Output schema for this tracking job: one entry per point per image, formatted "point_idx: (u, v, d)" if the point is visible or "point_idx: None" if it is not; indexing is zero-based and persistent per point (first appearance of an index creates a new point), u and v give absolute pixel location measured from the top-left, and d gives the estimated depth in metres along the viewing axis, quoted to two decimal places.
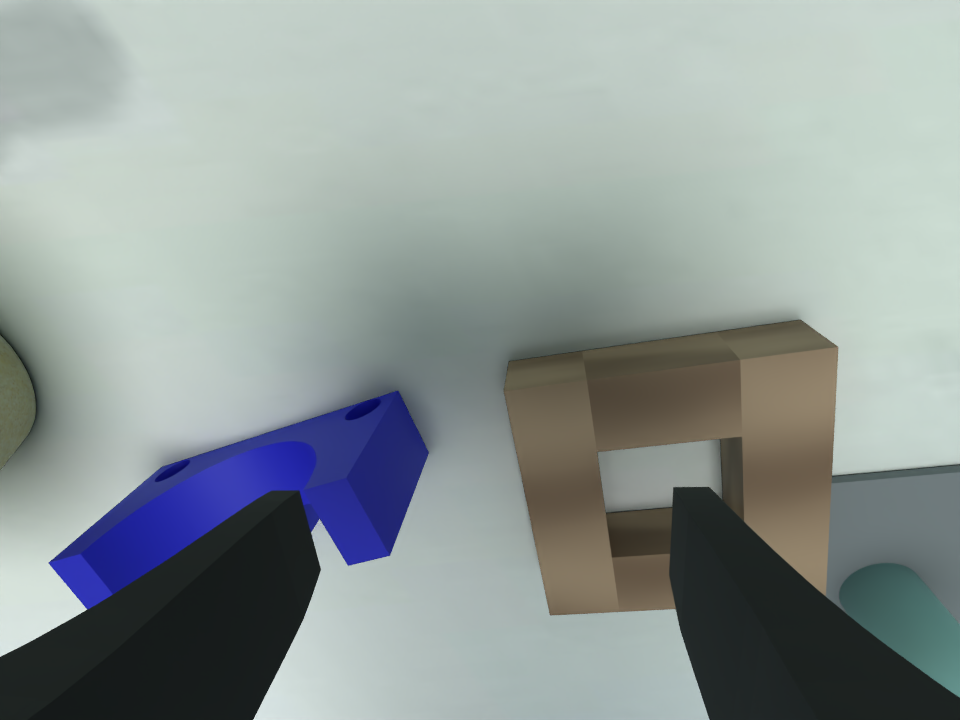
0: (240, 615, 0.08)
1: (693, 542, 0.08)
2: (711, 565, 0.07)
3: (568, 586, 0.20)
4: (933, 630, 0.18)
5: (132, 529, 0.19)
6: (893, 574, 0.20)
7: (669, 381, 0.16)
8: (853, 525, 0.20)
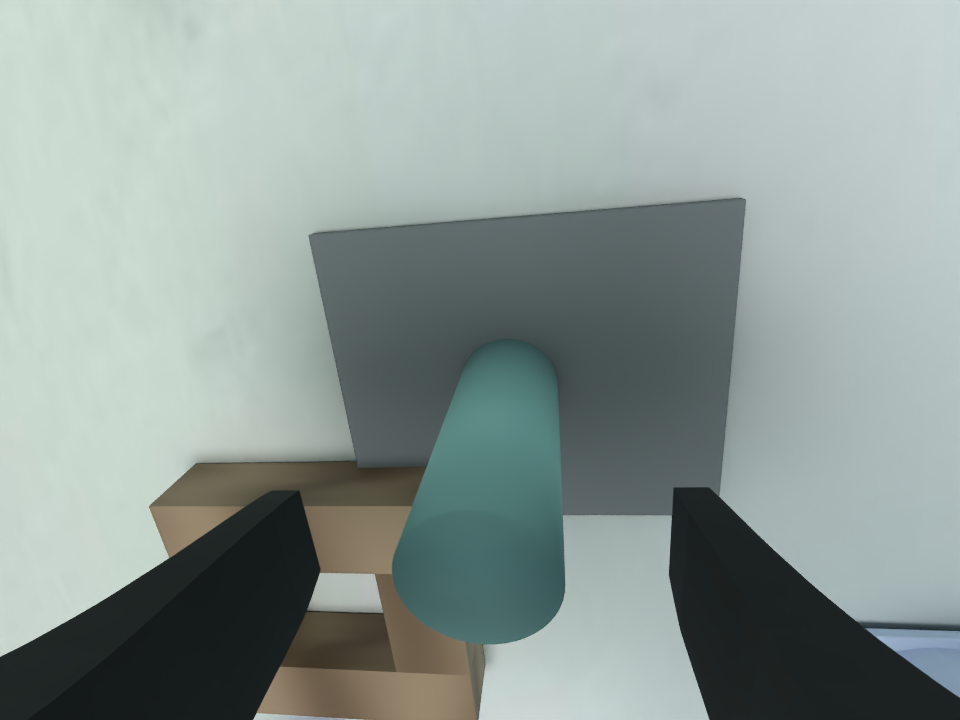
0: (240, 615, 0.08)
1: (693, 542, 0.08)
2: (711, 565, 0.07)
3: (437, 707, 0.19)
4: None
5: None
6: None
7: None
8: (406, 419, 0.17)
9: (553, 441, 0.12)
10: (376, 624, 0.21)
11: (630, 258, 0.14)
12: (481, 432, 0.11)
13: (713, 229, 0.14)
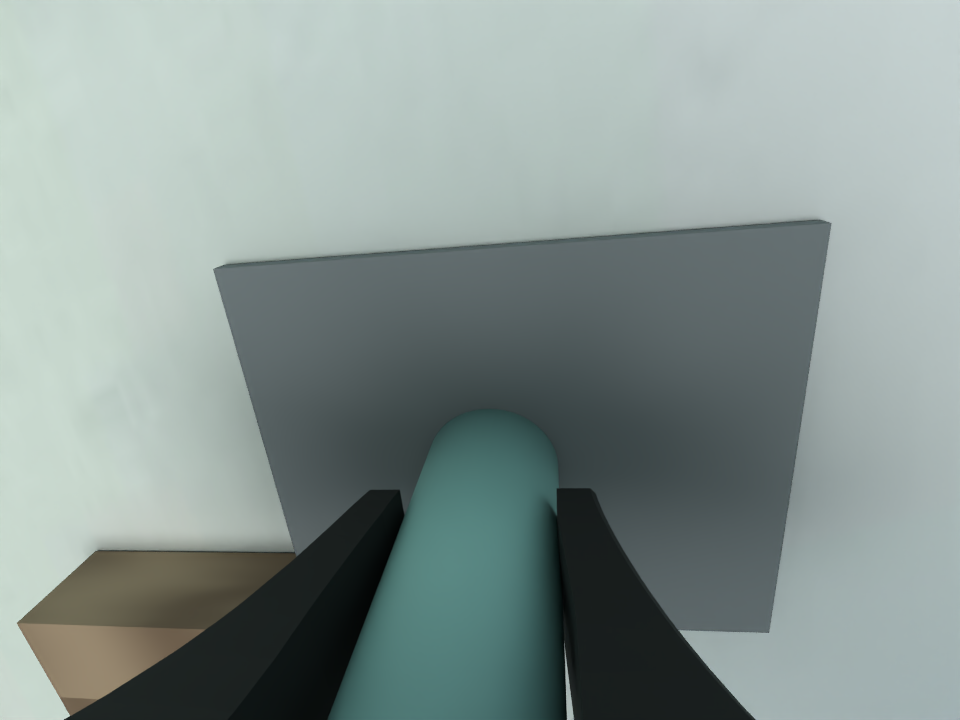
0: (361, 619, 0.08)
1: (559, 541, 0.08)
2: (564, 563, 0.08)
3: None
4: None
5: None
6: None
7: None
8: None
9: (552, 605, 0.08)
10: None
11: (661, 303, 0.10)
12: (434, 618, 0.07)
13: (781, 264, 0.10)
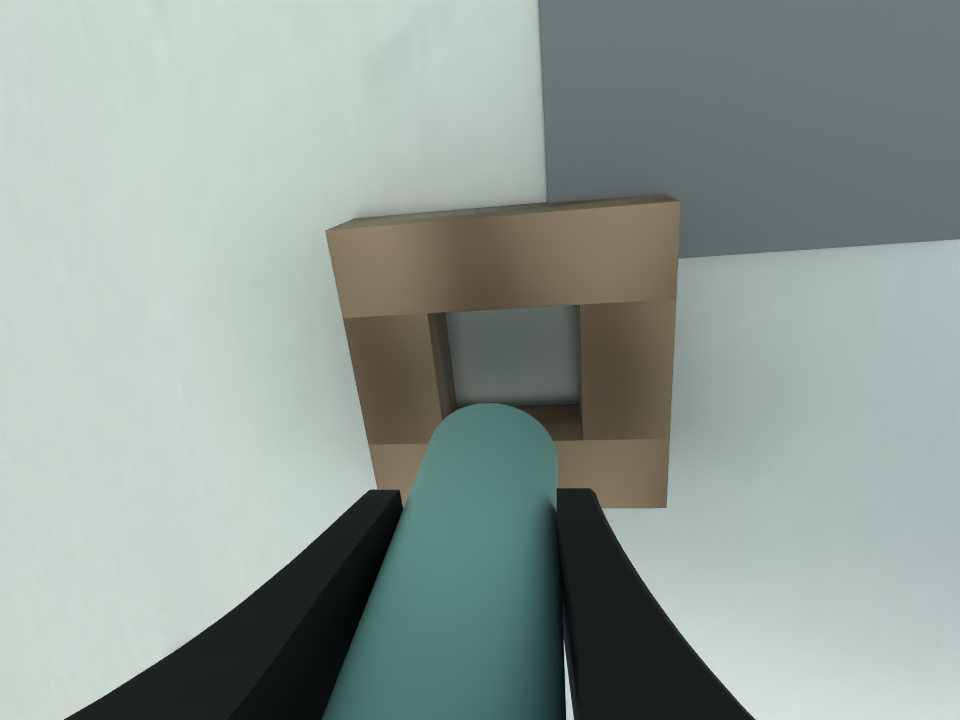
0: None
1: (559, 541, 0.08)
2: (564, 563, 0.08)
3: (623, 484, 0.18)
4: None
5: None
6: None
7: (367, 378, 0.17)
8: (614, 132, 0.15)
9: (554, 600, 0.08)
10: (541, 412, 0.19)
11: None
12: (438, 608, 0.06)
13: None
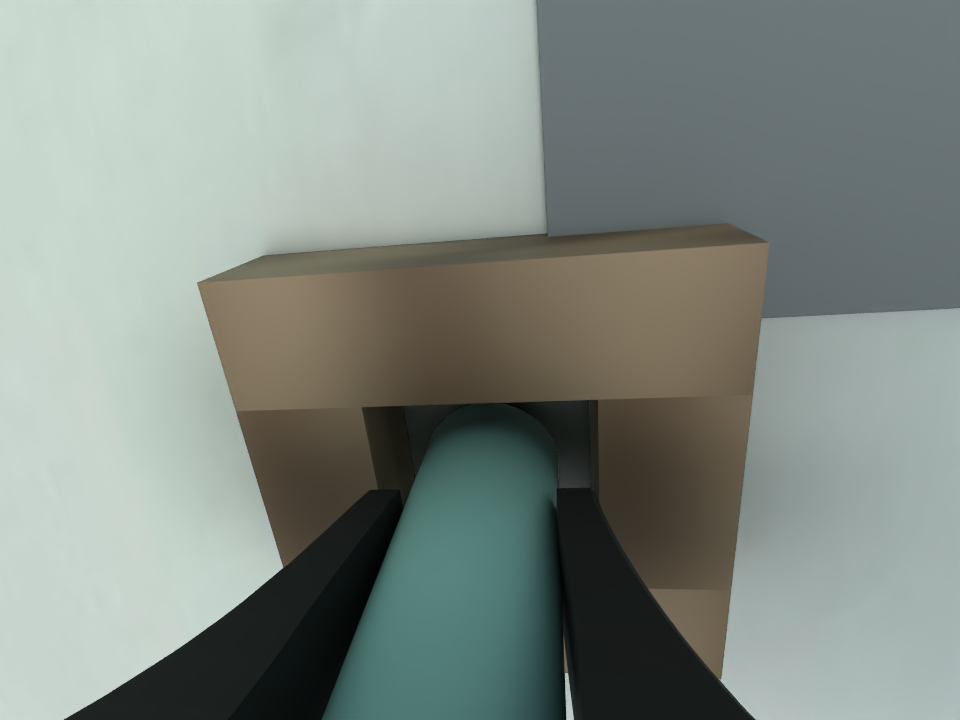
0: None
1: (559, 541, 0.08)
2: (564, 563, 0.08)
3: None
4: None
5: None
6: None
7: (279, 495, 0.12)
8: (653, 127, 0.10)
9: (554, 600, 0.08)
10: None
11: None
12: (439, 608, 0.06)
13: None
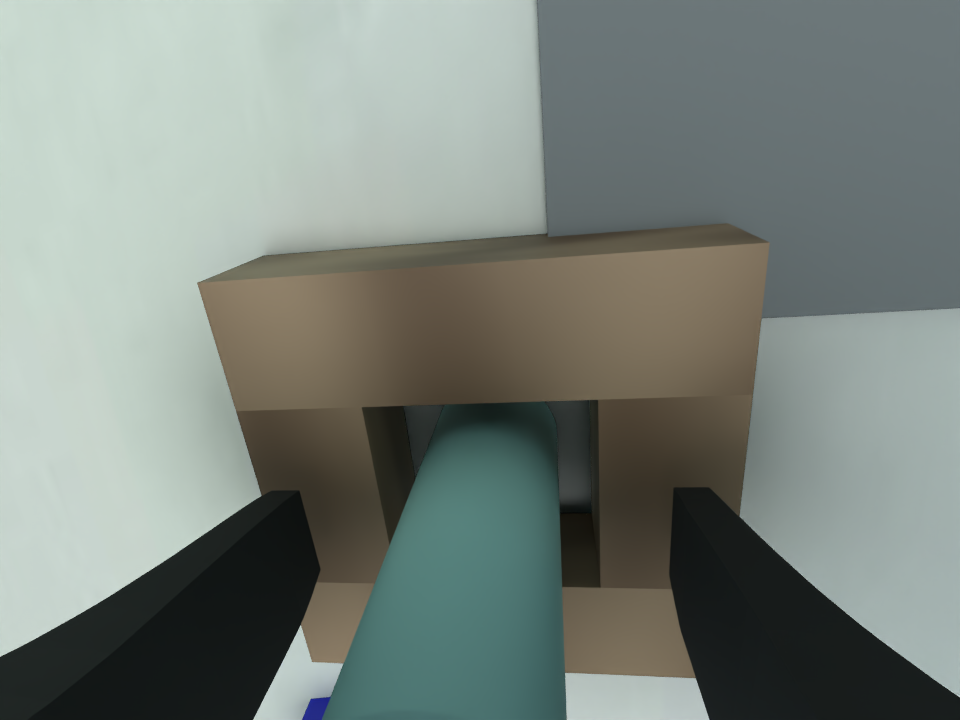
0: (239, 615, 0.08)
1: (693, 542, 0.08)
2: (711, 565, 0.07)
3: (658, 647, 0.12)
4: None
5: None
6: None
7: None
8: (653, 127, 0.10)
9: (553, 542, 0.09)
10: None
11: None
12: (454, 540, 0.08)
13: None
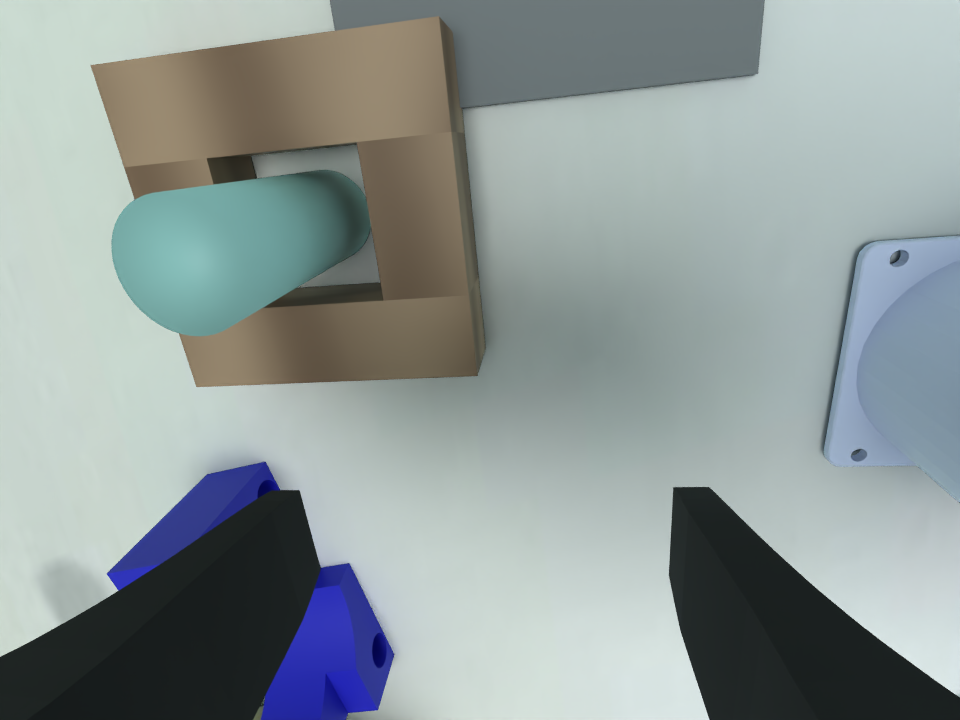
0: (240, 615, 0.08)
1: (693, 542, 0.08)
2: (711, 565, 0.07)
3: (430, 350, 0.17)
4: None
5: (270, 719, 0.23)
6: None
7: None
8: None
9: (309, 213, 0.14)
10: (362, 287, 0.18)
11: None
12: None
13: None
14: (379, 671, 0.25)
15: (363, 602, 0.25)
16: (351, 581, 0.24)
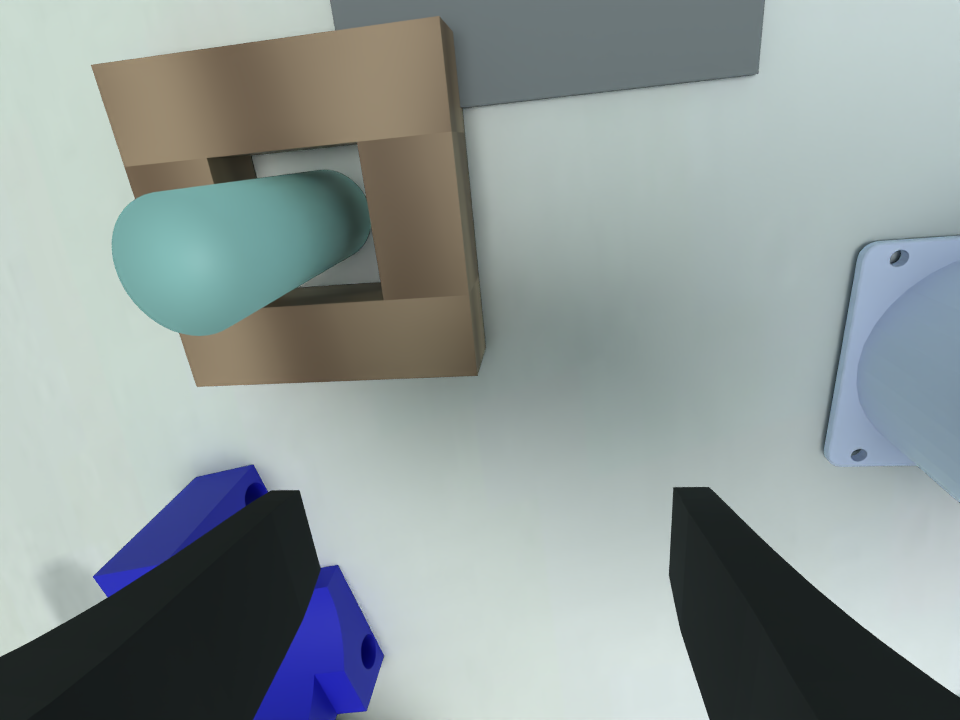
0: (239, 615, 0.08)
1: (693, 542, 0.08)
2: (711, 565, 0.07)
3: (430, 350, 0.17)
4: None
5: None
6: None
7: None
8: None
9: (309, 212, 0.14)
10: (362, 286, 0.18)
11: None
12: (227, 182, 0.13)
13: None
14: (368, 672, 0.25)
15: (352, 604, 0.25)
16: (340, 583, 0.24)
